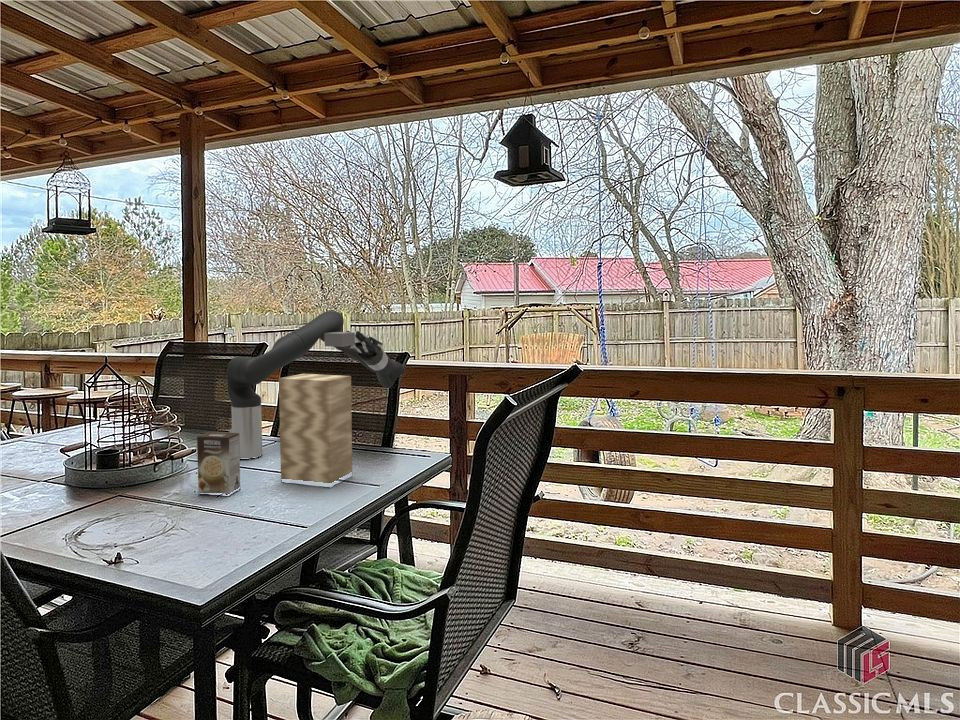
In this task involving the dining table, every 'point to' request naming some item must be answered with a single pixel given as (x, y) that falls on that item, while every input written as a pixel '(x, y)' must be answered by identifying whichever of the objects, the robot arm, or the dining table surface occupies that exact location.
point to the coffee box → (218, 462)
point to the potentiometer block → (341, 339)
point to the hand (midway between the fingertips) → (351, 333)
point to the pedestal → (315, 427)
